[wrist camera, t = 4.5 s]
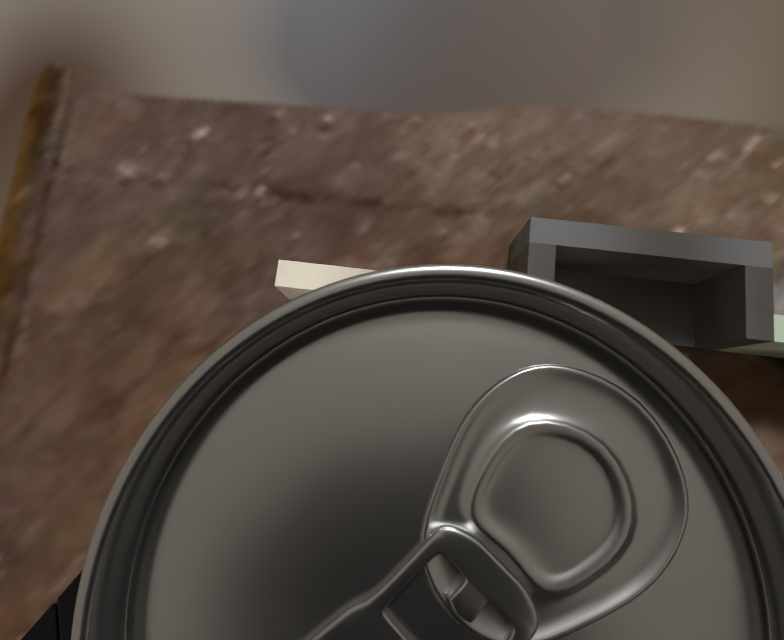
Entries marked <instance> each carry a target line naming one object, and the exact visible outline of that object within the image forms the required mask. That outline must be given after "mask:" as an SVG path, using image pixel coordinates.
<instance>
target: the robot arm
mask: <svg viewBox="0 0 784 640" xmlns="http://www.w3.org/2000/svg"><path fill="white" fill-rule="evenodd" d="M81 574H82V571H81V572H80V574H79V575H78V576H77V577H76V578H75V579H74V580H73V581H72V583H71V584H70V585H69V586H68V587H67V588H66V589H65V591H64V592H63V593H62V594H61V595H60V596H59V597H58V599H57V603H54V604H52V605H51V606H50V607H49V609H48V610H47V611H46V612H45V613H44V614H43V615H42V616H41V618H40V619H39V620H38V621H37V622H36V623H35V624H34V626H33V627H32V628H31V629H30V630H29V631H28V632H27V633H26V634H25V636H24V637H23V638H22V639H21V640H71V632H72V624H73V616H74V610H75V604H76V598H77V593H78V588H79V583H80V578H81Z"/></svg>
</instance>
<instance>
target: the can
mask: <svg viewBox="0 0 784 640" xmlns="http://www.w3.org/2000/svg"><path fill="white" fill-rule="evenodd" d="M71 640H784V478H783V476H782V474H781V473H780V471H779V469H778V467H777V466H776V464H775V462H774V460H773V459H772V457H771V456H770V454H769V452H768V451H767V449H766V448H765V446H764V445H763V443H762V442H761V440H760V439H759V437H758V436H757V434H756V433H755V432H754V430H753V429H752V427H751V426H750V425H749V423H748V422H747V421H746V420H745V418H744V417H743V416H742V414H741V413H740V412H739V411H738V409H737V408H736V407H735V406H734V405H733V403H732V402H731V401H730V400H729V399H728V398H727V396H726V395H725V394H724V393H723V392H722V391H721V390H720V389H719V388H718V387H717V385H716V384H715V383H714V382H713V381H712V380H711V379H710V378H709V377H708V376H707V375H706V374H705V373H704V372H703V371H702V370H700V369H699V368H698V367H697V366H696V365H695V364H694V363H693V362H692V361H691V360H690V359H688V358H687V357H686V356H685V355H684V354H682V353H681V352H680V351H679V350H678V349H677V348H675V347H674V346H673V345H671V344H670V343H669V342H668V341H666V340H665V339H664V338H662V337H661V336H660V335H658V334H657V333H655V332H654V331H652V330H651V329H650V328H648V327H647V326H645V325H644V324H642V323H640V322H639V321H637V320H636V319H634V318H633V317H631V316H629V315H627V314H626V313H624V312H622V311H620V310H619V309H617V308H615V307H613V306H611V305H609V304H607V303H605V302H603V301H601V300H599V299H597V298H595V297H593V296H591V295H588V294H586V293H584V292H581V291H579V290H576V289H574V288H571V287H569V286H566V285H563V284H560V283H557V282H554V281H551V280H548V279H544V278H541V277H538V276H534V275H530V274H526V273H522V272H517V271H512V270H507V269H500V268H494V267H486V266H477V265H463V264H426V265H413V266H404V267H396V268H389V269H384V270H378V271H373V272H369V273H365V274H360V275H357V276H353V277H349V278H346V279H343V280H340V281H336V282H333V283H330V284H328V285H325V286H322V287H320V288H317V289H315V290H312V291H310V292H307V293H305V294H303V295H301V296H298V297H296V298H294V299H292V300H290V301H288V302H286V303H284V304H282V305H280V306H279V307H277V308H275V309H273V310H271V311H270V312H268V313H266V314H265V315H263V316H261V317H260V318H258V319H257V320H255V321H253V322H252V323H250V324H249V325H248V326H246V327H245V328H243V329H242V330H240V331H239V332H237V333H236V334H235V335H234V336H232V337H231V338H230V339H228V340H227V341H226V342H224V343H223V344H222V345H221V346H220V347H218V348H217V349H216V350H215V351H214V352H212V353H211V354H210V355H209V356H208V357H207V358H206V359H205V360H204V361H202V362H201V363H200V364H199V365H198V366H197V367H196V368H195V369H194V370H193V371H192V372H191V373H190V374H189V375H188V376H187V377H186V378H185V379H184V380H183V382H182V383H181V384H180V385H179V386H178V387H177V388H176V389H175V390H174V392H173V393H172V394H171V395H170V396H169V398H168V399H167V400H166V401H165V402H164V404H163V405H162V406H161V407H160V409H159V410H158V411H157V413H156V414H155V415H154V417H153V418H152V419H151V421H150V422H149V424H148V425H147V427H146V428H145V430H144V431H143V432H142V434H141V435H140V437H139V439H138V440H137V442H136V443H135V445H134V447H133V448H132V450H131V452H130V453H129V455H128V457H127V459H126V460H125V462H124V464H123V466H122V468H121V470H120V472H119V474H118V476H117V477H116V479H115V481H114V483H113V486H112V488H111V490H110V492H109V494H108V497H107V499H106V501H105V504H104V506H103V509H102V511H101V514H100V516H99V518H98V521H97V524H96V527H95V530H94V533H93V535H92V538H91V542H90V545H89V548H88V552H87V555H86V558H85V562H84V566H83V570H82V574H81V578H80V583H79V588H78V593H77V598H76V604H75V610H74V616H73V624H72V632H71Z"/></svg>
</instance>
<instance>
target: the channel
mask: <svg viewBox="0 0 784 640" xmlns="http://www.w3.org/2000/svg"><path fill="white" fill-rule="evenodd" d="M509 270H512V271H517V272H522V273H526V274H530V275H534V276H538V277H541V278H544V279H548V280H551V281H554V282H557V283H560V284H563V285H566V286H569V287H571V288H574V289H576V290H579V291H581V292H584V293H586V294H588V295H591V296H593V297H595V298H597V299H599V300H601V301H603V302H605V303H607V304H609V305H611V306H613V307H615V308H617V309H619V310H620V311H622V312H624V313H626V314H627V315H629V316H631V317H633V318H634V319H636V320H637V321H639V322H640V323H642V324H644V325H645V326H647V327H648V328H650V329H651V330H652V331H654V332H655V333H657V334H658V335H660V336H661V337H662V338H664V339H665V340H666V341H668V342H669V343H670V344H671V345H673V346H680V347H689V348H698V349H707V350H715V351H724V352H733V353H742V354H751V355H760V356H769V357H778V358H784V315H775V314H774V306H773V268H772V242H762V241H753V240H743V239H734V238H725V237H715V236H706V235H696V234H687V233H678V232H668V231H659V230H649V229H640V228H631V227H621V226H612V225H602V224H593V223H584V222H574V221H565V220H555V219H546V218H537V217H531V218H530V219H529V220H528V222H527V223H526V224H525V226H524V227H523V228H522V230H521V231H520V232H519V234H518V235H517V236H516V238H515V239H514V240H513V242H512V243H511V244H510V258H509ZM373 271H376V270H367V269H358V268H349V267H340V266H331V265H322V264H312V263H303V262H294V261H285V260H279V262H278V269H277V275H276V281H275V286H276V287H277V288H278V289H279V290H280V291H281V292H282V293H283V294H284V295H285V296H286V297H287V298H288V299H289V300H292V299H294V298H296V297H298V296H301V295H303V294H305V293H307V292H310V291H312V290H315V289H317V288H320V287H322V286H325V285H328V284H330V283H333V282H336V281H340V280H343V279H346V278H349V277H353V276H357V275H360V274H365V273H369V272H373Z"/></svg>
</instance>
